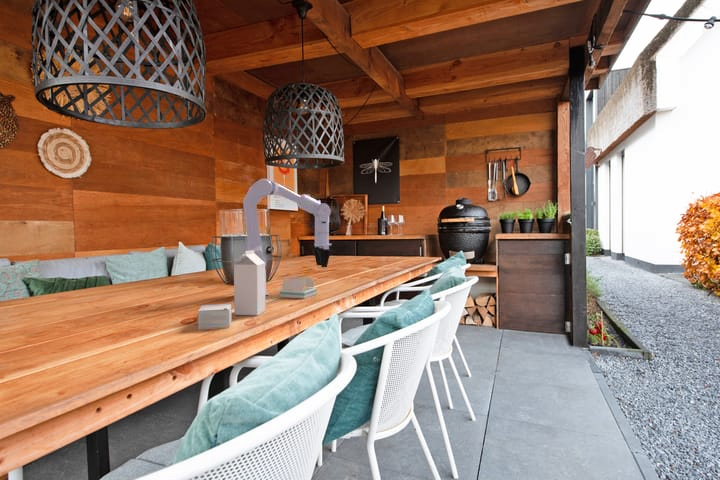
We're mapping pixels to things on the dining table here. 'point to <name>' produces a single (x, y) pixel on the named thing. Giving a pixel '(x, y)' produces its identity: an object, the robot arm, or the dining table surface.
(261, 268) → the milk carton
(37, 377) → the dining table surface
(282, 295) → the carton
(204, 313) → the small box
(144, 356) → the dining table surface
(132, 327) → the dining table surface
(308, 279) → the flap far
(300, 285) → the flap near
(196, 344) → the dining table surface
